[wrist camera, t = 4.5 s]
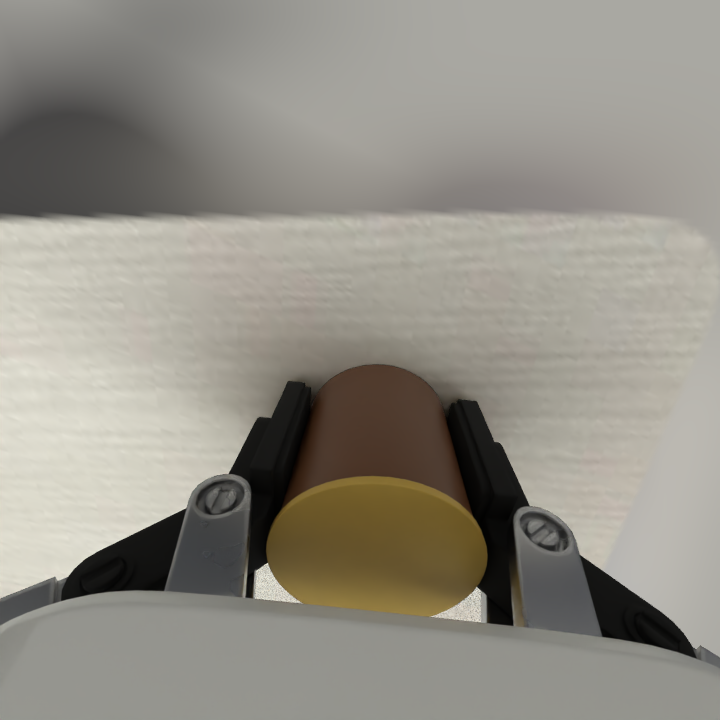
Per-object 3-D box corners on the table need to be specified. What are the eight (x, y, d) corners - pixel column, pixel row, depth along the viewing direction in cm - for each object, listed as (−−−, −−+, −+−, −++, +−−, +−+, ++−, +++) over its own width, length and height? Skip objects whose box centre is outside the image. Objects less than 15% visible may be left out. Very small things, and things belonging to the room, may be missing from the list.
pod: (461, 369, 11) (517, 497, 7) (432, 481, 13) (459, 633, 9) (309, 353, 11) (262, 470, 7) (305, 467, 13) (268, 613, 9)
